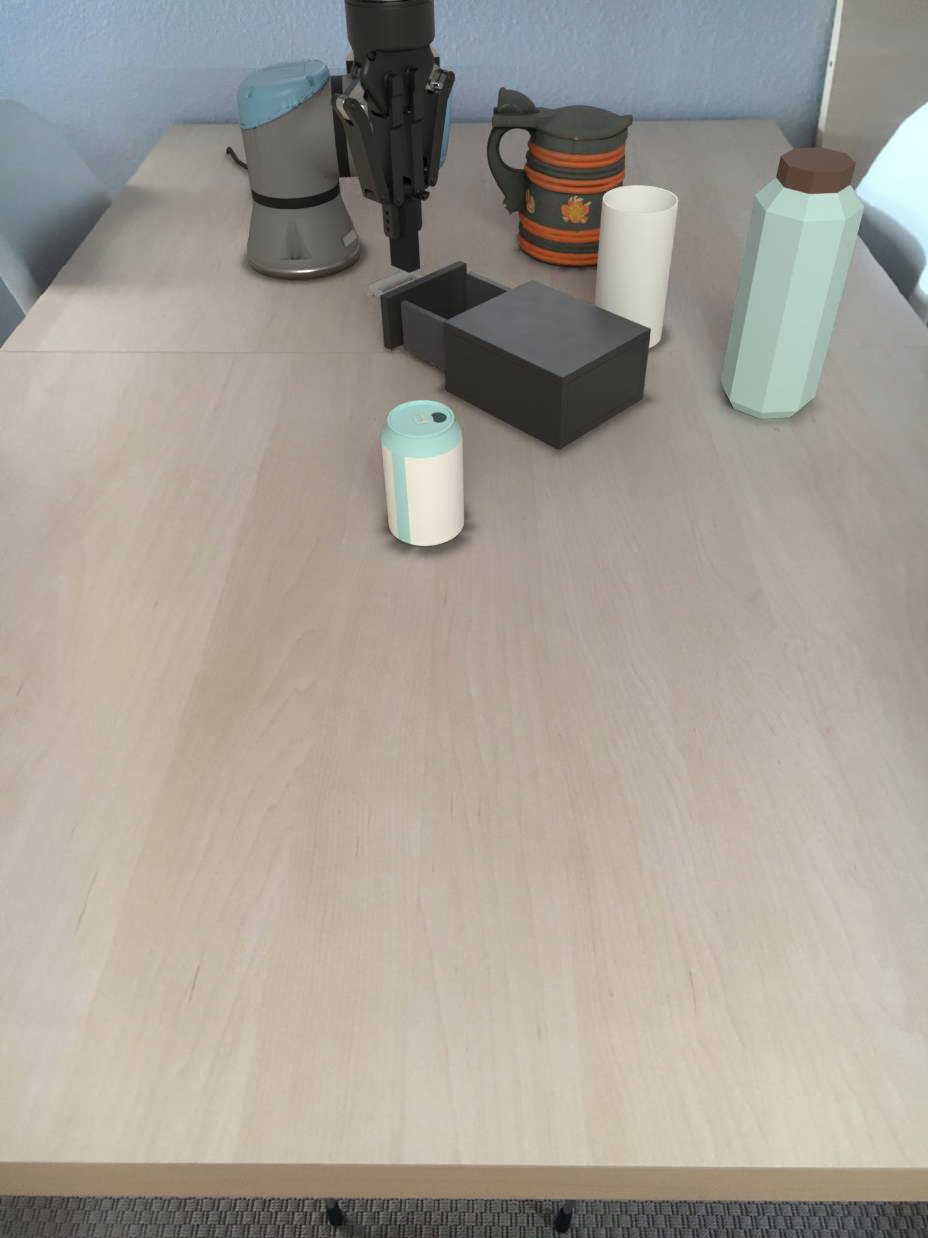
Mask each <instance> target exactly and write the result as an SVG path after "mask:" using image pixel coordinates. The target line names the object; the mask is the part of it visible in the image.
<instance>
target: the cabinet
mask: <svg viewBox="0 0 928 1238" xmlns="http://www.w3.org/2000/svg"><path fill="white" fill-rule="evenodd" d="M650 333H651V329H650V328H648V327H646V326H643V325H641V324H638V323H636V322H633V321H631V320H629V319H626V318H624V317H621V316H619V315H616V314H614V313H612V312H609V311H607V310H604V309H602V308H600V307H597V306H595V305H594V304H592V303H590V302H588V301H585V300H582V299H581V298H578V297H575V296H573V295H570V294H568V293H566V292H564V291H561V290H559V289H556V288H554V287H552V286H548V285H546V284H544V283H541V282H539V281H536V280H534V279H530V280H529V281H526V282H524V283H522V284H519V285H518V286H516V287H514V288H511V290H509V291H507V292H505V293H503V294H501V295H499V296H497V297H495V298H493V299H490V300H488V301H486V302H484V303H482V304H480V305H478V306H476V307H474V308H471V309H469V310H467V311H465V312H463V313H461V314H459V315H457V316H455V317H453V318H450V319H448V320H446V321H444V345H445V370H444V373H445V391H446V392H448V393H450V394H452V395H454V396H455V397H457V398H459V399H461V400H463V401H464V402H467V403H469V404H471V405H473V406H475V407H476V408H478V409H480V410H482V411H484V412H486V413H488V414H490V415H492V416H493V417H495V418H497V419H499V420H501V421H503V422H505V423H506V424H509V425H511V426H512V427H514V428H516V429H518V430H520V431H522V432H524V433H526V434H528V435H530V436H531V437H533V438H535V439H537V440H539V441H541V442H542V443H545V444H546V445H549V446H551V447H553V448H554V449H556V450H557V451H560V450H561V449H563V448H565V447H567V446H568V445H570V444H571V443H573V442H575V441H576V440H578V439H579V438H581V437H582V436H583V437H584V436H585V435H586V434H588V433H589V432H591V431H592V430H594V429H596V428H597V427H599V426H601V425H602V424H604V423H605V422H607V421H609V420H610V419H612V418H614V417H615V416H617V415H618V414H620V413H622V412H624V411H625V410H627V409H628V408H630V407H631V406H633V405H635V404H636V403H638V402H640V401H641V400H643V398H644V390H645V383H646V375H647V367H648V358H649V350H650V348H649V343H650Z"/></svg>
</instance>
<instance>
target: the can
mask: <svg viewBox="0 0 928 1238" xmlns="http://www.w3.org/2000/svg"><path fill="white" fill-rule="evenodd" d="M386 416H387V417H386V422H385V425H384V426H383V428H382V430H381V432H380V445H381V454H382V465H383V477H384V488H385V498H386V510H387V520H388V528H389V530H390V532H391V534H392V535H393V536H394V537H395V538H397V539H398V540H400V541H401V542H403V543H405V544H408V545H412V546H419V547H433V546H437V545H441V544H444V543H446V542H449V541H451V540H453V539H454V538H456V537H457V536H458V535H459V534H460V533H461V531H462V530H463V528H464V525H465V491H464V490H465V489H464V487H465V486H464V449H463V448H464V447H463V445H464V444H463V443H464V442H463V429H462V427H461V425H460V423H459V422H458V421H457V420H456V419H455V414H454V411H453V410H452V409H451V408H450V407H449V406H448V405H445V403H442V402H439V401H435V400H429V399H416V400H415V399H414V400H409V401H406V402H403V403H401V404H398V405H396V406H395V407H394V408H392V409H391V410H390V411H389V413H388V414H387V415H386Z"/></svg>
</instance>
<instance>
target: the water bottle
mask: <svg viewBox="0 0 928 1238" xmlns="http://www.w3.org/2000/svg"><path fill="white" fill-rule="evenodd" d="M856 165H857V162H856V161H854V159H853V158H852V157H851V156H850V155H849V154H848V153H847V152H842V151H838V150H834V149H831V148H826V147H795V148H793V149H790V150H788V151H787V152H784V153H783V154H781V155H780V156H779V161H778V166H777V170H776V176H775V177H774V178H773V179H772V180H771V181H770V182H768V183H767V184H766V185H765V186H764V187H763V188H761V189H760V190H759V191H758V192H757V193H755V194H754V196H753V197H754V198H753V202H752V208H751V213H750V219H749V225H748V230H747V236H746V241H745V247H744V253H743V257H742V263H741V268H740V274H739V280H738V285H737V291H736V296H735V302H734V306H733V313H732V317H731V324H730V328H729V334H728V340H727V345H726V351H725V356H724V361H723V366H722V373H721V378H720V383H721V385H722V387H723V389H724V392H725V394H726V396H727V398H728V401H729V402H730V404H731V406H732V408H733V409H734V410H735V411H736V410H737V411H739V412H742V413H743V414H747V415H749V416H752V417H754V418H757V419H759V420H768V419H789V418H792V417H793V416H794V415H795V414H796V413H797V412H799V411H800V410H801V409H802V408H803V407H805V406H806V405H807V404H808V403H810V401H811V400H813V399H814V398H815V397H816V395H817V392H818V387H819V383H820V379H821V376H822V371H823V368H824V365H825V364H824V363H825V360H826V356H827V353H828V349H829V344H830V342H831V337H832V333H833V329H834V325H835V323H836V318H837V314H838V310H839V306H840V302H841V298H842V294H843V291H844V287H845V283H846V280H847V275H848V271H849V268H850V264H851V261H852V256H853V252H854V249H855V245H856V241H857V238H858V234H859V231H860V230H859V229H860V226H861V222H862V218H863V215H864V210H865V206H864V204H863V202H862V201H861V199H860V198H859V196H858V195H857V193H856V191H855V189H854V188H853V186H852V185H851V184H852V180H853V176H854V173H855V169H856Z"/></svg>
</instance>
